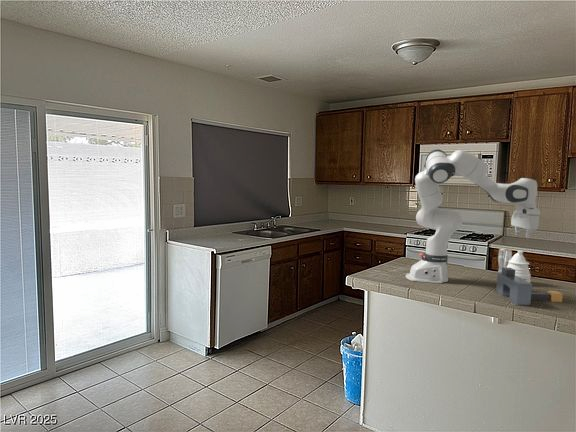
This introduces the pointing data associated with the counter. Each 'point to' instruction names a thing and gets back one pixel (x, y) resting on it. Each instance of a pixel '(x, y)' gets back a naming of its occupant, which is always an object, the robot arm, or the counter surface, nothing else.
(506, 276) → the grey block
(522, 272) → the honey pot
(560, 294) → the plug
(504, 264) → the beer glass
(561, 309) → the counter surface
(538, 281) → the counter surface
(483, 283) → the counter surface
